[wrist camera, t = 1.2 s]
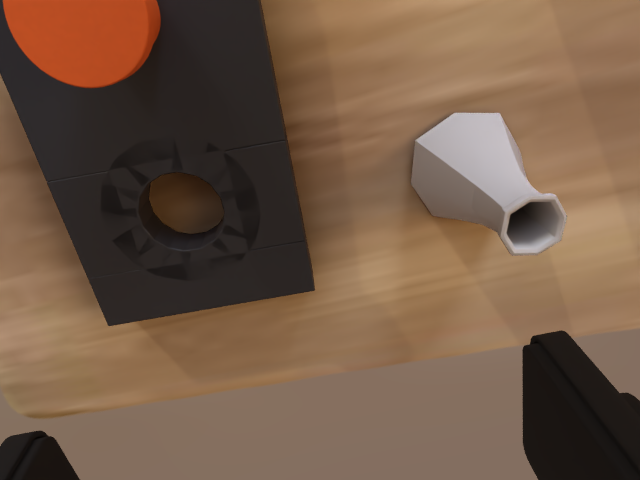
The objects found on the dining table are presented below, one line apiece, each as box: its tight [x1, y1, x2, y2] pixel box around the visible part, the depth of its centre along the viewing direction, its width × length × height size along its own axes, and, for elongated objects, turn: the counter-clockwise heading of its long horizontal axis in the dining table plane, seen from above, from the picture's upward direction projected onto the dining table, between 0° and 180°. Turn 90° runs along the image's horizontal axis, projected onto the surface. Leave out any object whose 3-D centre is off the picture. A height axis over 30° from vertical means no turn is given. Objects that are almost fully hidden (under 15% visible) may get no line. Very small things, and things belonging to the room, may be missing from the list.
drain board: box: [0, 0, 315, 326], centre depth 28 cm, size 24×14×2 cm, turn 9°
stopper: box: [3, 0, 161, 88], centre depth 22 cm, size 6×6×6 cm
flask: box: [411, 113, 567, 256], centre depth 27 cm, size 7×7×10 cm
